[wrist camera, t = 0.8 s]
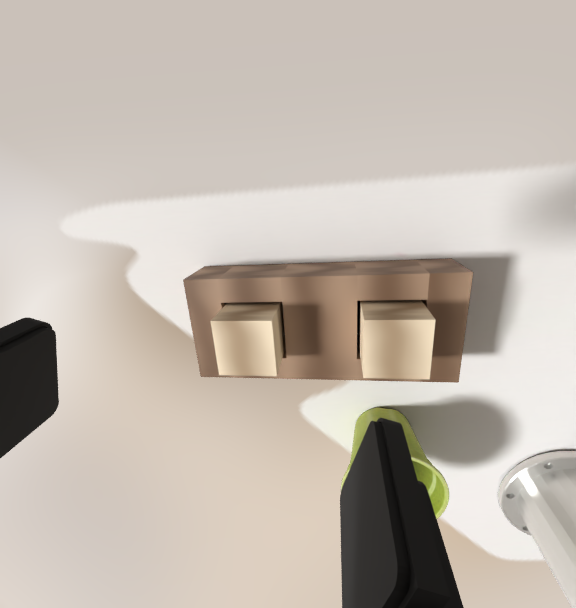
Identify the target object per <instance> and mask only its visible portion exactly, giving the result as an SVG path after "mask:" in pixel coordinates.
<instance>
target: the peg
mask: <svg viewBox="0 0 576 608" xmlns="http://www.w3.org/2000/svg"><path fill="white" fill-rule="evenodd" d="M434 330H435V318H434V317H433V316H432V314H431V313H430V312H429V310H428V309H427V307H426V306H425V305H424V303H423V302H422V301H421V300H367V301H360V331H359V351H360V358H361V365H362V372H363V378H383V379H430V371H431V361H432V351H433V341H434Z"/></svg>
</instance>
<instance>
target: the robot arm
mask: <svg viewBox="0 0 576 608" xmlns="http://www.w3.org/2000/svg"><path fill="white" fill-rule="evenodd" d="M57 379H58V377H57V356H56V335H55V332H54V330H52V327H51V325H50V324H48V323H46V322H42V321H39V320H35V319H32V318H23V319H21V320H18V321H16V322H14V323H11V324H9V325H7V326H4V327H2V328H0V458H1V457H2V456H4V455H5V454H6V453H7V452H9V451H10V450H11V449H12V448H13V447H15V445H17V444H18V443H19V442H21V441H22V440H23V439H24V438H25V437H27V436H28V435H29V434H30V433H31V432H32V431H34V430H35V429H36V428H37V427H39V426H40V425H41V424H42V423H43V422H45V421H46V420H47V419H48V418H49V417H51V416H52V415H53V414H54V412H55V411H56V409H57V407H58V403H59V400H58V380H57ZM498 501H499V504H500V507H501V509H502V511H503V513H504V515H505V517H506V518H507V520H508V521H509V522H510V523H511V524H512V525H513V526H515V527H516V528H517V529H519V530H520V531H522V532H524V533H526V534H529V535H532V537H533V539H534V541H535V542H536V544H537V546H538V548H539V550H540V551H541V553H542V555H543V557H544V559H545V560H546V562H547V564H548V566H549V568H550V569H551V571H552V573H553V575H554V577H555V578H556V580H557V582H558V584H559V585H560V587H561V589H562V591H563V593H564V594H565V596H566V598H567V600H568V602H569V603H570V605H571V607H572V608H576V451H556V452H548V453H544V454H540V455H537V456H534V457H532V458H529V459H527V460H525V461H523V462H521V463H520V464H518V465H517V466H515V467H514V468H513V469H512V470H511V471H509V473H508V474H507V475H506V476H505V477H504V479H503V481H502V482H501V484H500V487H499V491H498ZM340 510H341V511H340V516H341V562H342V608H463V605H462V601H461V599H460V595H459V591H458V588H457V585H456V582H455V578H454V575H453V572H452V569H451V565H450V562H449V559H448V555H447V553H446V549H445V546H444V542H443V539H442V536H441V532H440V529H439V526H438V523H437V519H436V516H435V513H434V509H433V506H432V503H431V500H430V496H429V493H428V490H427V488H426V486H425V484H424V483H423V482H421V481H418V480H417V476H416V473H415V469H414V465H413V462H412V458H411V455H410V451H409V448H408V444H407V441H406V437H405V434H404V430H403V427H402V424H401V423H399V422H395V421H392V420H388V419H385V418H379V419H378V420H377V422H376V421H371V422H370V424H369V426H368V428H367V430H366V433H365V435H364V437H363V440H362V442H361V444H360V447H359V449H358V451H357V454H356V456H355V458H354V461H353V463H352V465H351V468H350V470H349V472H348V475H347V477H346V479H345V482H344V484H343V487H342V490H341V496H340Z"/></svg>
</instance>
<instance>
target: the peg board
mask: <svg viewBox="0 0 576 608" xmlns="http://www.w3.org/2000/svg"><path fill="white" fill-rule="evenodd" d="M472 277H473V272H472V271H470V270H469V269H467V268H466V267H464V266H463V265H461V264H460V263H458V262H456V261H455V260H453V259H452V258H451V259H421V260H390V261H360V262H329V263H299V264H268V265H238V266H207V267H203V268H201V269H200V270H198V271H197V272H195V273H193V274H192V275H190V276H189V277H187V278H185V279H184V280H183V282H184V287H185V293H186V298H187V304H188V309H189V315H190V320H191V326H192V331H193V337H194V342H195V347H196V353H197V358H198V364H199V369H200V375H201V377H237V378H283V379H284V378H285V379H328V380H372V381H417V382H459V374H460V367H461V359H462V352H463V345H464V337H465V330H466V322H467V315H468V307H469V300H470V292H471V285H472ZM367 300H421V301H422V302H423V303H424V305H425V306H426V307H427V309H428V310H429V312H430V313H431V314H432V316H433V317H434V318H435V330H434V341H433V351H432V361H431V371H430V379H383V378H363V372H362V365H361V358H360V351H359V335H357V301H367ZM231 302H282V304H283V317H284V330H285V335H284V339H285V351H284V355H283V358H282V361H281V364H280V368H279V371H278V374H277V376H236V375H219V371H218V365H217V359H216V353H215V346H214V340H213V334H212V327H211V320H212V319H213V318H214V317H215V316H216V315H217V314H218V312H219V311H220V310H221V309H222V308H223V307H224V306H225V305H226V304H227V303H231Z"/></svg>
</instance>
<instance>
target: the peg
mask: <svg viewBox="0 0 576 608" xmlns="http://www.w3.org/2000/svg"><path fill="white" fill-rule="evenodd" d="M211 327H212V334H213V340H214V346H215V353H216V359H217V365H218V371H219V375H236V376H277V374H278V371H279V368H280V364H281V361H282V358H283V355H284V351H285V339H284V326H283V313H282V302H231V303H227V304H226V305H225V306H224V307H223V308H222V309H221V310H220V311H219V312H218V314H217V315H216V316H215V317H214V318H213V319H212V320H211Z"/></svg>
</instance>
